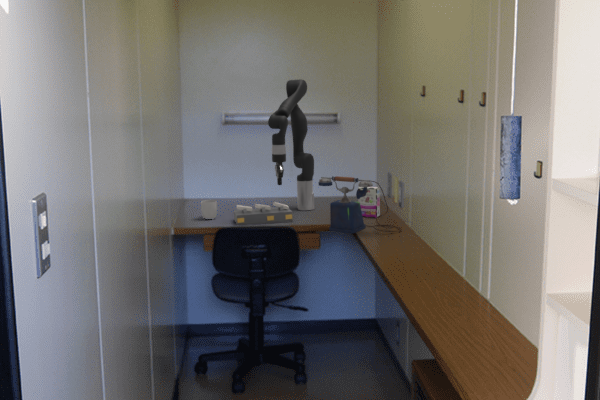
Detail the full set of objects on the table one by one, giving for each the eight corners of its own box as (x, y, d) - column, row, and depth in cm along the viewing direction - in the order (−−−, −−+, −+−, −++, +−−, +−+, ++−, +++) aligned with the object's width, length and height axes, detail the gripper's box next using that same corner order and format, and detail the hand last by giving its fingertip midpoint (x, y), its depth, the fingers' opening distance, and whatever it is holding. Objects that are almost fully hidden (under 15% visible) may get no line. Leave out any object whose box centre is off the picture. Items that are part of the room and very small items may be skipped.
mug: (219, 219, 353) (218, 201, 351) (203, 221, 350) (202, 203, 348) (214, 215, 365) (213, 198, 363) (199, 216, 362) (198, 199, 360)
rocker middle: (269, 208, 348) (269, 205, 348) (270, 209, 345) (270, 207, 344) (254, 206, 347) (255, 203, 346) (255, 207, 343) (256, 205, 342)
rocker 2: (286, 208, 351) (287, 205, 350) (288, 209, 347) (288, 206, 347) (273, 204, 349) (273, 201, 348) (274, 205, 345) (275, 202, 345)
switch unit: (287, 216, 357) (287, 202, 355) (292, 221, 343) (292, 207, 342) (234, 220, 351) (233, 205, 349) (237, 225, 337) (236, 210, 335)
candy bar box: (380, 216, 351) (380, 186, 348) (377, 218, 346) (376, 188, 343) (361, 214, 356) (361, 185, 353) (358, 216, 352) (357, 187, 349)
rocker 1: (250, 209, 346) (251, 206, 346) (251, 211, 343) (252, 208, 342) (236, 207, 344) (236, 204, 344) (237, 209, 341) (237, 206, 340)
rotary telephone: (406, 228, 322) (407, 175, 317) (389, 237, 304) (389, 181, 298) (335, 220, 343) (334, 170, 338) (315, 229, 325) (314, 176, 319)
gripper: (288, 154, 336) (289, 186, 340) (283, 151, 349) (284, 182, 352) (274, 154, 335) (275, 187, 338) (269, 152, 347) (270, 183, 351)
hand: (279, 184), depth 345 cm, fingers closed
